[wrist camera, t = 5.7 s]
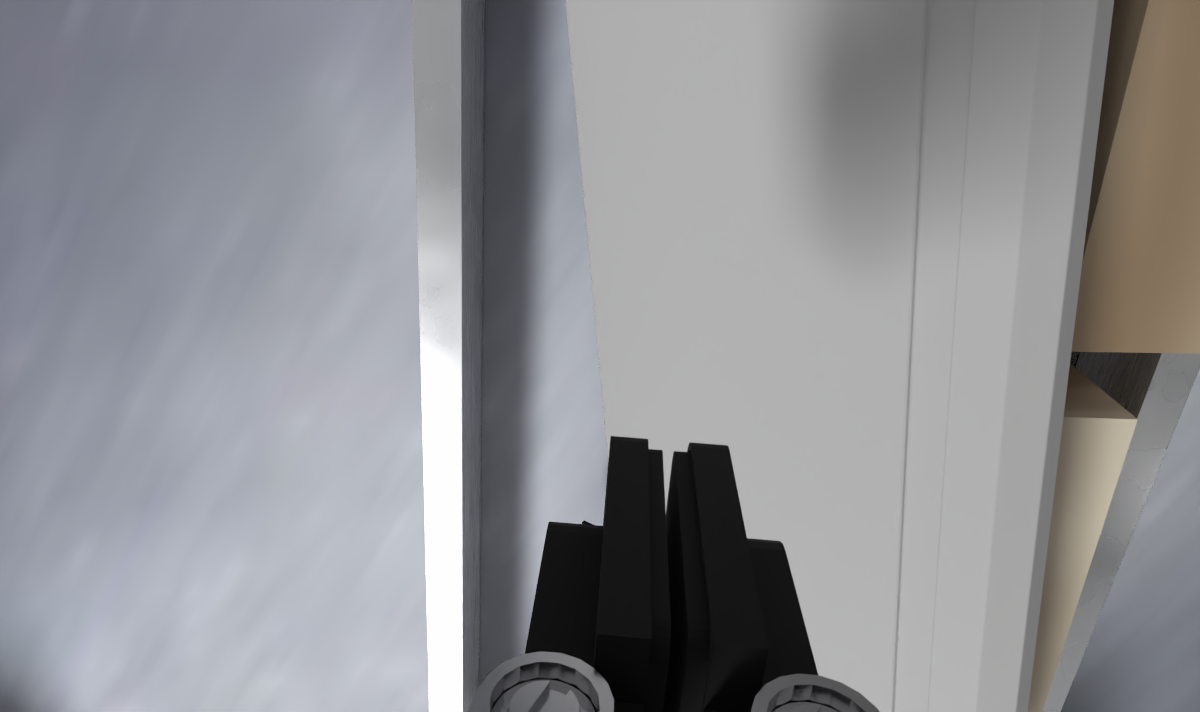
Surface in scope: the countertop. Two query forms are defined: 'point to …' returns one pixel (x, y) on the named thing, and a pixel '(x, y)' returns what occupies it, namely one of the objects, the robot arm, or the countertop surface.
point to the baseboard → (854, 297)
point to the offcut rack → (454, 368)
